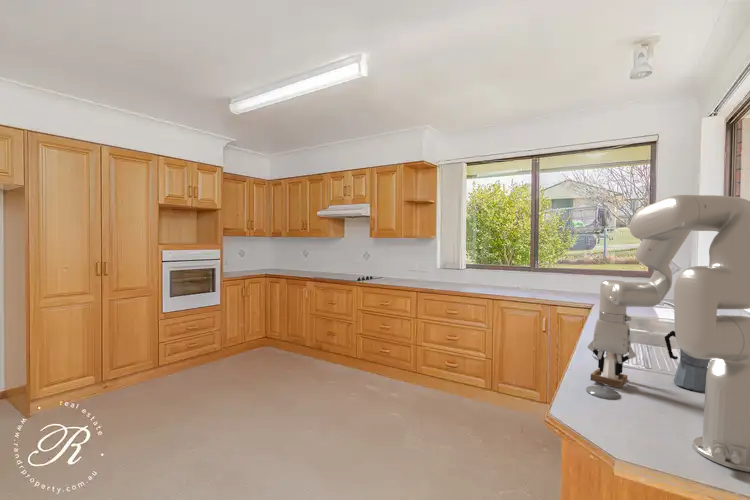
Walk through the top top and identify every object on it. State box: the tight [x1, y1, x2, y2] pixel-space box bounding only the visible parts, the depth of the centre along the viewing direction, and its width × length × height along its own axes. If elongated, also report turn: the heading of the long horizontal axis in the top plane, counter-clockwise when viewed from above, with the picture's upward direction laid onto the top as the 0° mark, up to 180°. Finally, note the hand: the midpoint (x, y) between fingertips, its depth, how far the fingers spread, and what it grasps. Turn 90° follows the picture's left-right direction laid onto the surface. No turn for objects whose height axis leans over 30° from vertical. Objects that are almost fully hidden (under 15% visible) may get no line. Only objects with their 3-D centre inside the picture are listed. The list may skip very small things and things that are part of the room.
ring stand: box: [590, 354, 628, 389], centre depth 129 cm, size 14×9×16 cm, turn 134°
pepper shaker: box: [600, 351, 619, 387], centre depth 127 cm, size 5×5×11 cm
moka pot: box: [664, 330, 711, 393], centre depth 126 cm, size 10×15×20 cm, turn 78°
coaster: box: [585, 385, 621, 400], centre depth 119 cm, size 9×9×1 cm
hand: (609, 372), depth 127 cm, fingers closed on pepper shaker, 4 cm apart
